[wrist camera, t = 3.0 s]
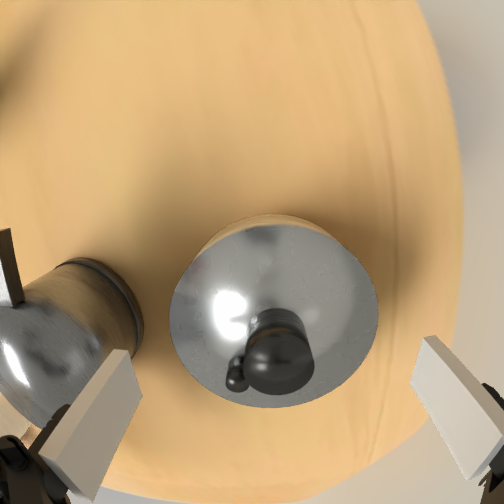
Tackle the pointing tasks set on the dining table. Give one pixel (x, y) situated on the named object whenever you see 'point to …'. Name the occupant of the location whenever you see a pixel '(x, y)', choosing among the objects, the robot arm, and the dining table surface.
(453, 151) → the dining table surface
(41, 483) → the robot arm
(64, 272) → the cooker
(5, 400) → the water bottle
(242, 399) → the lid
